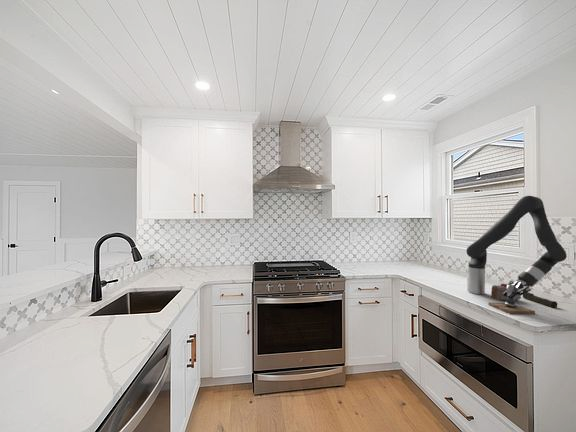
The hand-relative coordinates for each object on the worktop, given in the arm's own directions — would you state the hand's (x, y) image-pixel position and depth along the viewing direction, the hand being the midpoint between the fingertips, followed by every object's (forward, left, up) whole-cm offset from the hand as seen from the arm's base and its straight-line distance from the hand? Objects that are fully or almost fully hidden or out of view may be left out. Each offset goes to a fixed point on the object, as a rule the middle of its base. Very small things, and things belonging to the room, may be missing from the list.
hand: (506, 296), depth 145 cm
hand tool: (-11, +29, -7) cm, 32 cm away
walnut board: (0, +2, -7) cm, 7 cm away
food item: (-17, +15, -7) cm, 24 cm away
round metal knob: (0, +2, -5) cm, 5 cm away
